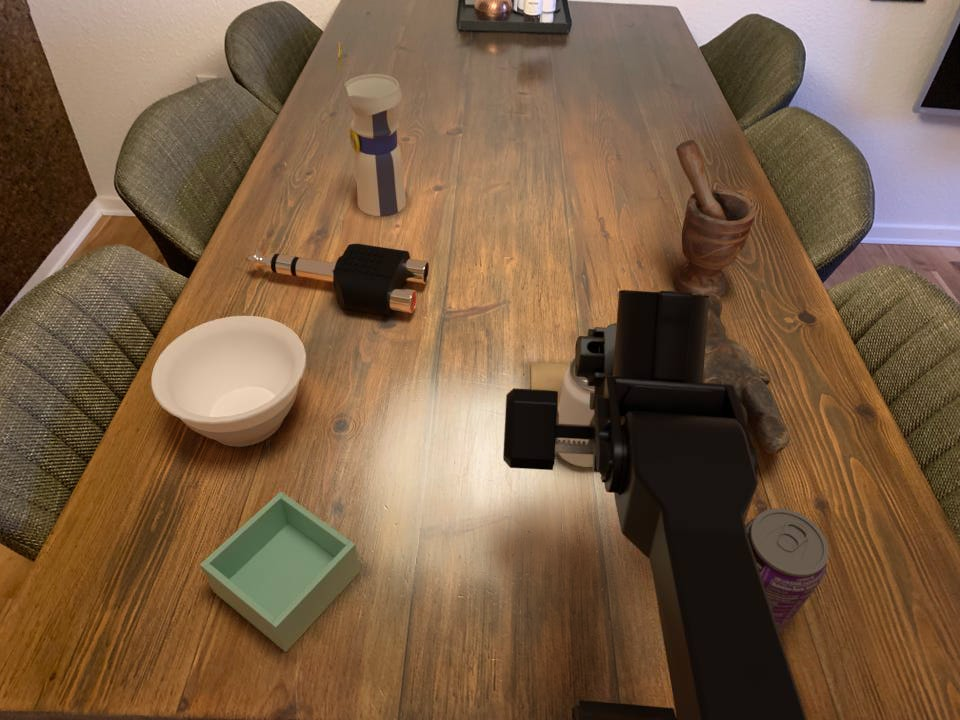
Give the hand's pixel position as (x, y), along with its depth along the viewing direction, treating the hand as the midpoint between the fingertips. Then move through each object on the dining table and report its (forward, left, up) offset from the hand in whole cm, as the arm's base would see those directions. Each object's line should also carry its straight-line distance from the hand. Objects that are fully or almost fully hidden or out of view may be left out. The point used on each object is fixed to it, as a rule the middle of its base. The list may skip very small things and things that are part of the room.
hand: (605, 423), depth 64 cm
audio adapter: (+44, +17, -14) cm, 49 cm away
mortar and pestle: (+29, -30, -14) cm, 44 cm away
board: (+12, -5, -14) cm, 19 cm away
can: (+7, -3, -13) cm, 15 cm away
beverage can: (-15, -9, -14) cm, 22 cm away
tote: (+2, +31, -14) cm, 34 cm away
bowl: (+24, +32, -14) cm, 42 cm away
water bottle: (+62, +6, -14) cm, 64 cm away
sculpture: (+9, -22, -14) cm, 28 cm away
